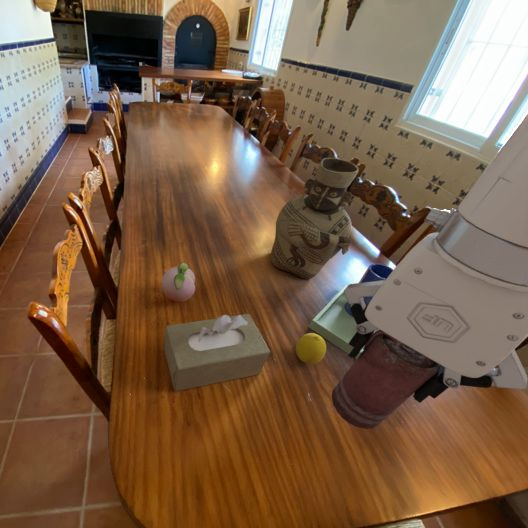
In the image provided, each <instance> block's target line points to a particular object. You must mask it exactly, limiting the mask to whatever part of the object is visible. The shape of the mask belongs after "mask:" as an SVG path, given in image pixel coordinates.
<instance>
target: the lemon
mask: <svg viewBox="0 0 528 528" xmlns="http://www.w3.org/2000/svg"><path fill="white" fill-rule="evenodd" d="M326 352H327V344H326V341H325V338H324V337H323V336H321V335H320V334H318V333H314V332H309V333H306V334H304V335H302V336H301V337H300V338H299V339H298V340H297V341H296V345H295V353H296V356H297V357H298V359H299V360H300V361H301V362H302V363H305V364H307V365H314V364H317V363H320V362H321V361H322V360H323V359H324V357H325V355H326Z"/></svg>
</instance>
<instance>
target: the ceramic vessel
mask: <svg viewBox="0 0 528 528" xmlns="http://www.w3.org/2000/svg"><path fill="white" fill-rule="evenodd" d="M358 174H359V167H358V166H357V165H356V164H354V163H353V162H351V161H348V160H345V159H341V158H335V157H323V158H322V159H321V160H320V162H319V164H318V167H317V169H316V173H315V179H313V178H308V179H307V180H306V182H305V184H304V187H303V193H304V194H306V195H301V196H298V197H295V198H291V199H290V200H288V201H287V202H286V203H285V204H284V205H283V207H282V208H281V210H280V211H279V213H278V215H277V218H276V221H275V234H274V236H275V237H274V240H273V241H274V242H273V245H272V249H271V252H270V262H271V264H272V266H274V268H276V269H279V270H281V271H283V272H288V273H290V274H293V275H295V276H296V277H298V278H301V279H304V280H305V279H306V280H307V279H309V280H310V279H312V278H314V277H315V276H316V275H318V273H319V272H321V271H322V269H323V268H324V267H325V266H326V264H327V263H328V262H329V261H330V260H331V259H333V258H334V257H335V256H337V254H338V253H339V252H340V251H341V255H343V256H344V255H345V254H347V253H348V252H349V247H350V246H351V245H352V239H351V238H350V235H351V232H352V220H351V217H350V215H349V214H348V212H347V211H346V209H345V207H347V205H348V204H349V203H350V201H351V199H352V192H350V191H347V189H348V187H349V186H350V185H351V184H352V182H353V181H354V179H355V178H356V176H357V175H358Z"/></svg>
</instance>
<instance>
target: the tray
mask: <svg viewBox="0 0 528 528" xmlns="http://www.w3.org/2000/svg"><path fill="white" fill-rule="evenodd" d="M348 285H349V284H347V283H346V284H345V285H343V287H342V288H341V289H340V290H339V291H338V292H337V293H336V294H335V295H334V296H333V297H332V298H331V299H330V301H329V302H328V303H327V304H326V305H325V306H324V307H323V308H322V309H321V310H320V311H319V312H318V313H317V315H315V317H313V318H312V320H311V321H310V324H308V328H310V329H311V330H312V331H314V332H315V333H316V334H318V335H319V336H321V337H322V338H323V339H326V340H327V341H329V342H330V343H331V344H333V345H335V346H336V347H338V348H339V349H341V350H342V351H343V352H345V353H346V354H348V355H349V353H350V352H351V351H352V349H353V348H354V347H352V346H351V345H349V344H348V343H349V342H350V340H351V339H352V337H353V336H354V335H355V333H356V332H357V330H356V326H357V324H356V322H355V319H354V317H352V316H351V315H349V314H348V313H347V312H346V310H345V308H344V305H345V303H346V302H347V299H346V296H345V294H344V290H345V289H346V288H347V286H348ZM378 330H380V329H378ZM375 331H377V330H375ZM375 331H374V332H375ZM364 346H365V345H364ZM363 348H364V347H363ZM363 348H362V349H361V351H360V352H359V353H358V355H357V356H356V357H355V360H356V359H357V358H358V357H359V355H360V354H361V353H362V351H363V350H364V349H363Z"/></svg>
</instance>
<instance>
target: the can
mask: <svg viewBox="0 0 528 528" xmlns="http://www.w3.org/2000/svg"><path fill="white" fill-rule="evenodd" d="M363 349H364V350H363V351H362V353H361V354H360V355H359V357H358V358H357V359H355V360H354V361H353V363H352V364H351V366H350V367H349V368H348V370H347V371H346V372H345V374H343V376H342V377H341V378H340V380H339V381H338V383H337V384H336V385H335V387H333V389H332V392H331V401H332V404H333V407H334V408H335V411H336V412H337V414H338V415H339V417H341V419H342V420H344V421H345V422H347V424H349V425H351V426H354V427H356V428H359V429H363V430H370V429H374V428H376V427H378V426H379V425H381V423H383V422H384V421H385V420H386V419H387V418H388V417H390V416H391V414H393V413H394V412H395V411H396V410H397V409H398V408H399V407H401V405H403V404H404V403H405V402H406V401H407V400H408V399H410V398H411V397H413V396H414V393H415V392H416V391H417V390H418V389H419V388H420V387H422V386H423V385H424V384H425V383H426V382H427V381H428V380H429V379H431V378H432V377H433V376H434V375H435V374H436V373H437V372H438V369H439V363H437V362H435V361H433V360H432V359H430V358H428V357H426V356H425V355H423V354H421V353H419V352H418V351H416V350H414V349H412V348H411V347H409V346H407V345H405V344H404V343H402V342H400V341H399V340H397V339H395V338H393V337H392V336H390V335H388V334H387V333H385V332H383V331H382V330H377V331H375V332H374V333H373V334H372V336H371V337H370V339H369V340H368V342H367V343H366V344H365V346H364V348H363Z"/></svg>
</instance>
